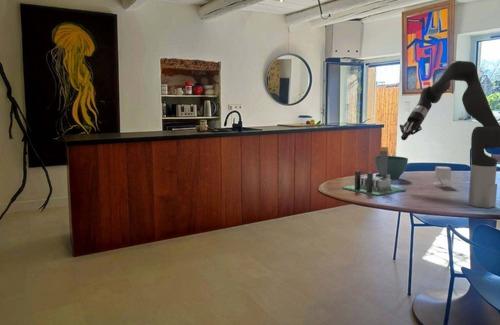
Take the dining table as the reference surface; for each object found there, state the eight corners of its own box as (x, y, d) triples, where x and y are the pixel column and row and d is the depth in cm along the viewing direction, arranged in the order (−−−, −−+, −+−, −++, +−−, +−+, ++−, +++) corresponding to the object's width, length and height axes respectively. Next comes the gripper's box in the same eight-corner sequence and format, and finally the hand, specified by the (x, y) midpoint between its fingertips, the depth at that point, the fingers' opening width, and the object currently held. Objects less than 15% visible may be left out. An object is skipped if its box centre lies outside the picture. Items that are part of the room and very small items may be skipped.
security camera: (450, 187, 205) (451, 168, 204) (435, 186, 206) (437, 168, 205) (446, 185, 211) (447, 166, 210) (432, 184, 213) (433, 166, 211)
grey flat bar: (387, 177, 200) (388, 147, 198) (385, 177, 200) (387, 147, 198) (379, 176, 204) (381, 146, 202) (378, 176, 203) (379, 146, 201)
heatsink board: (405, 190, 196) (406, 171, 195) (377, 196, 184) (378, 175, 182) (369, 184, 214) (370, 166, 213) (342, 188, 202) (342, 169, 200)
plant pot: (408, 177, 236) (409, 156, 234) (405, 182, 220) (406, 160, 218) (377, 174, 244) (378, 155, 243) (371, 179, 228) (372, 158, 227)
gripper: (404, 110, 217) (389, 133, 212) (426, 110, 206) (411, 134, 201) (409, 120, 221) (395, 143, 215) (431, 120, 210) (417, 144, 204)
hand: (403, 139), depth 208 cm, fingers closed
